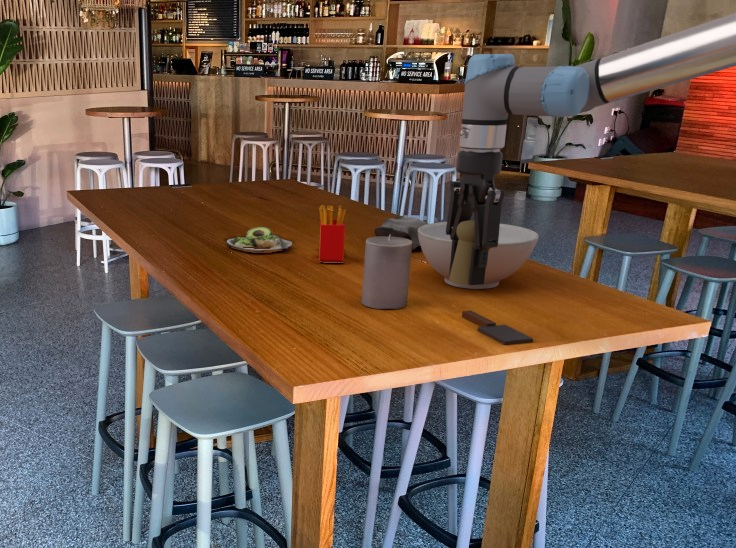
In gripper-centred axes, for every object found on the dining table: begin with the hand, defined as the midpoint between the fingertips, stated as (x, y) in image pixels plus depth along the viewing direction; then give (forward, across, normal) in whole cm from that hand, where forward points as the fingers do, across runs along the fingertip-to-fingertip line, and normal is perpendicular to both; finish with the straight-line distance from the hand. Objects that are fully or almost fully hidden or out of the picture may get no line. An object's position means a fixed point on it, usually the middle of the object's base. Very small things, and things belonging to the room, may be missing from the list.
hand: (466, 279), depth 146 cm
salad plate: (+11, -87, -12) cm, 89 cm away
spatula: (+11, -2, +8) cm, 14 cm away
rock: (+11, -76, +27) cm, 81 cm away
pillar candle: (+11, -24, -4) cm, 27 cm away
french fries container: (+11, -66, +1) cm, 67 cm away
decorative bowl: (+11, -35, +24) cm, 44 cm away
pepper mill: (0, 0, 0) cm, 0 cm away
